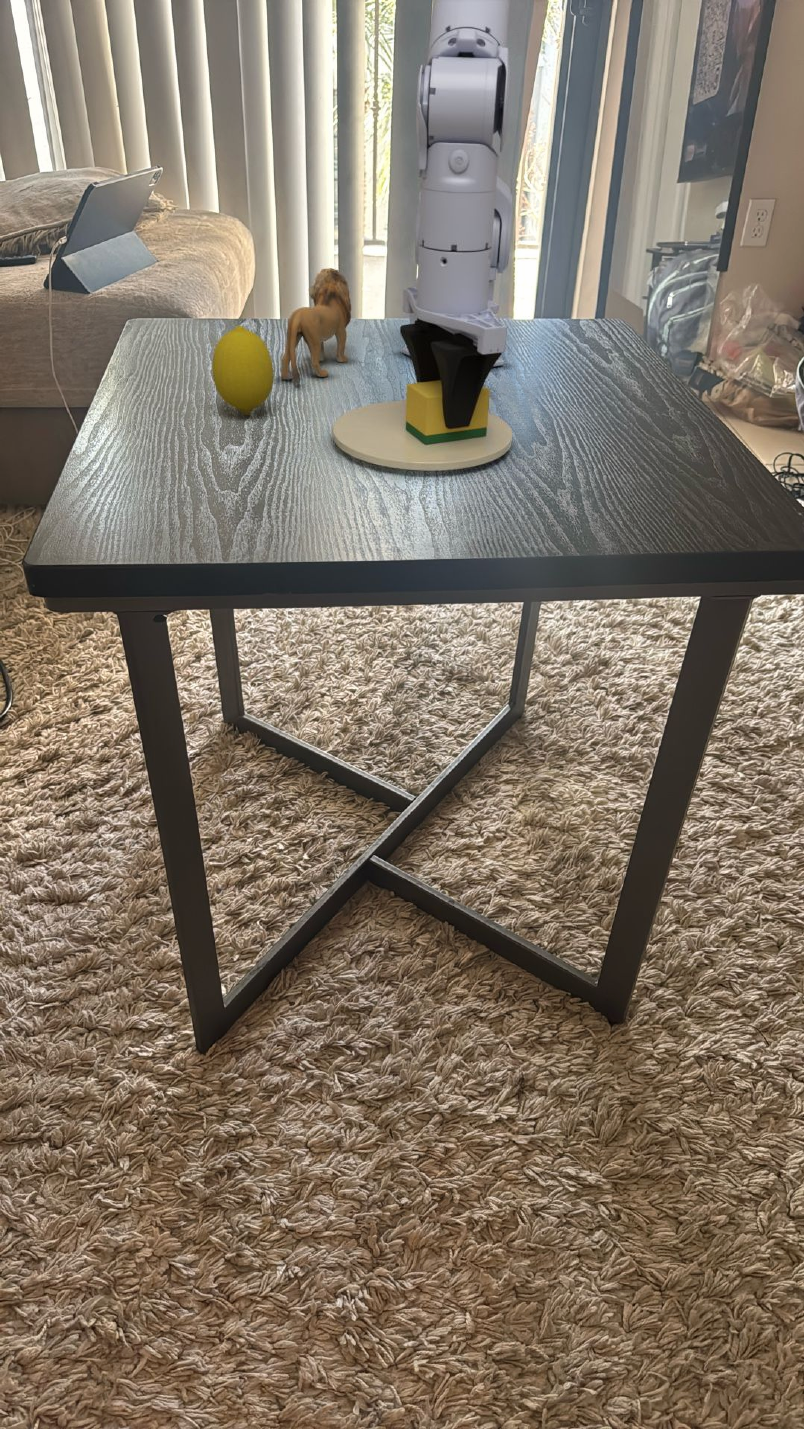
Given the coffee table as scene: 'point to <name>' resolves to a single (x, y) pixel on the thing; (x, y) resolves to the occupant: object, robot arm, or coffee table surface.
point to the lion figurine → (319, 323)
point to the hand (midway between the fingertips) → (445, 418)
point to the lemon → (242, 369)
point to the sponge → (440, 414)
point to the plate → (413, 440)
